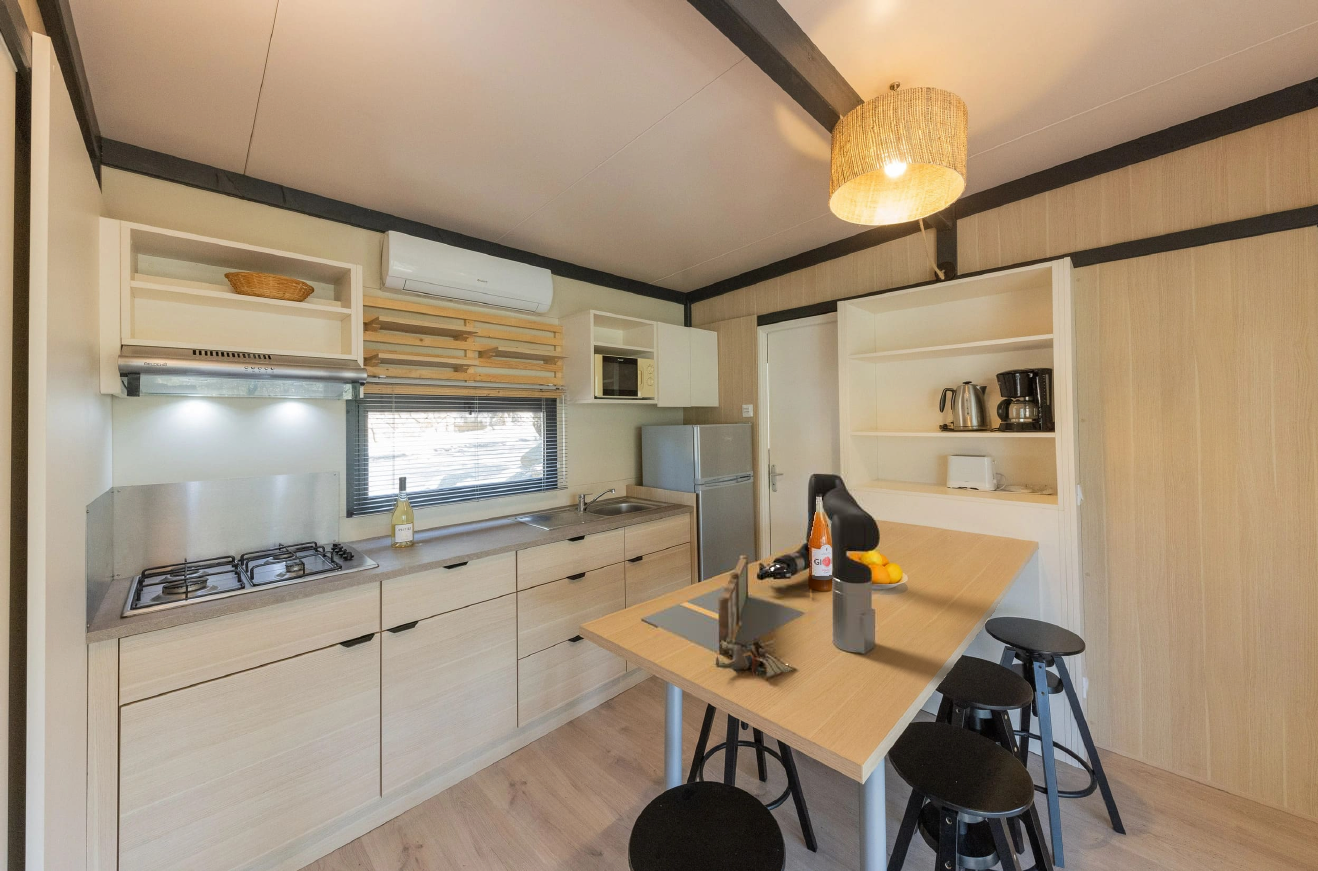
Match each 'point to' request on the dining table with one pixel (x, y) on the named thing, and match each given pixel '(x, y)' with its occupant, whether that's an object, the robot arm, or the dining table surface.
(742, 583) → the fence gate
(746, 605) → the card
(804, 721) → the dining table surface
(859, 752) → the dining table surface
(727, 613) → the post
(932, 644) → the dining table surface
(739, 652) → the figurine
